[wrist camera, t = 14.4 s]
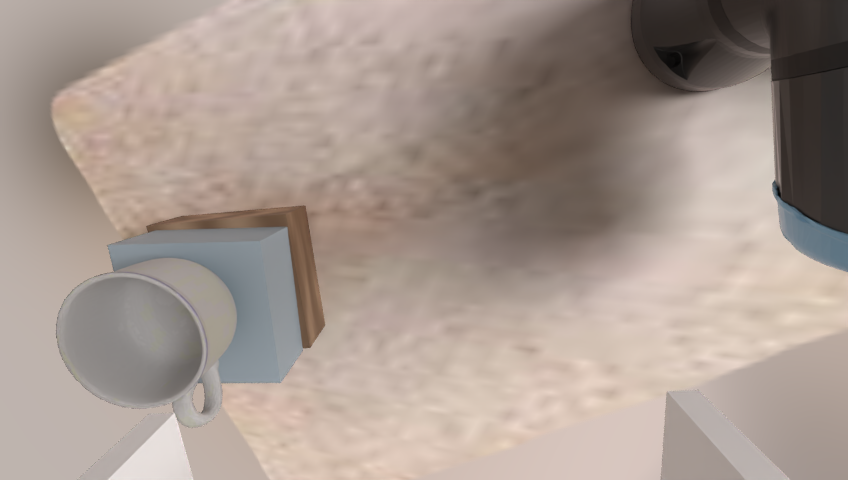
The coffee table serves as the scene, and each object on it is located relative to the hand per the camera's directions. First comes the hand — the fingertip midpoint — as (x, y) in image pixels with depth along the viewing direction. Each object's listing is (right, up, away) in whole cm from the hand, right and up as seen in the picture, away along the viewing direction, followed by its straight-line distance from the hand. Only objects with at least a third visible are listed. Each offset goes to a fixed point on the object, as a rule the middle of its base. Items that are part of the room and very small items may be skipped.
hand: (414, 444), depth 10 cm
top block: (-20, 0, +31) cm, 37 cm away
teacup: (-20, -2, +26) cm, 33 cm away
